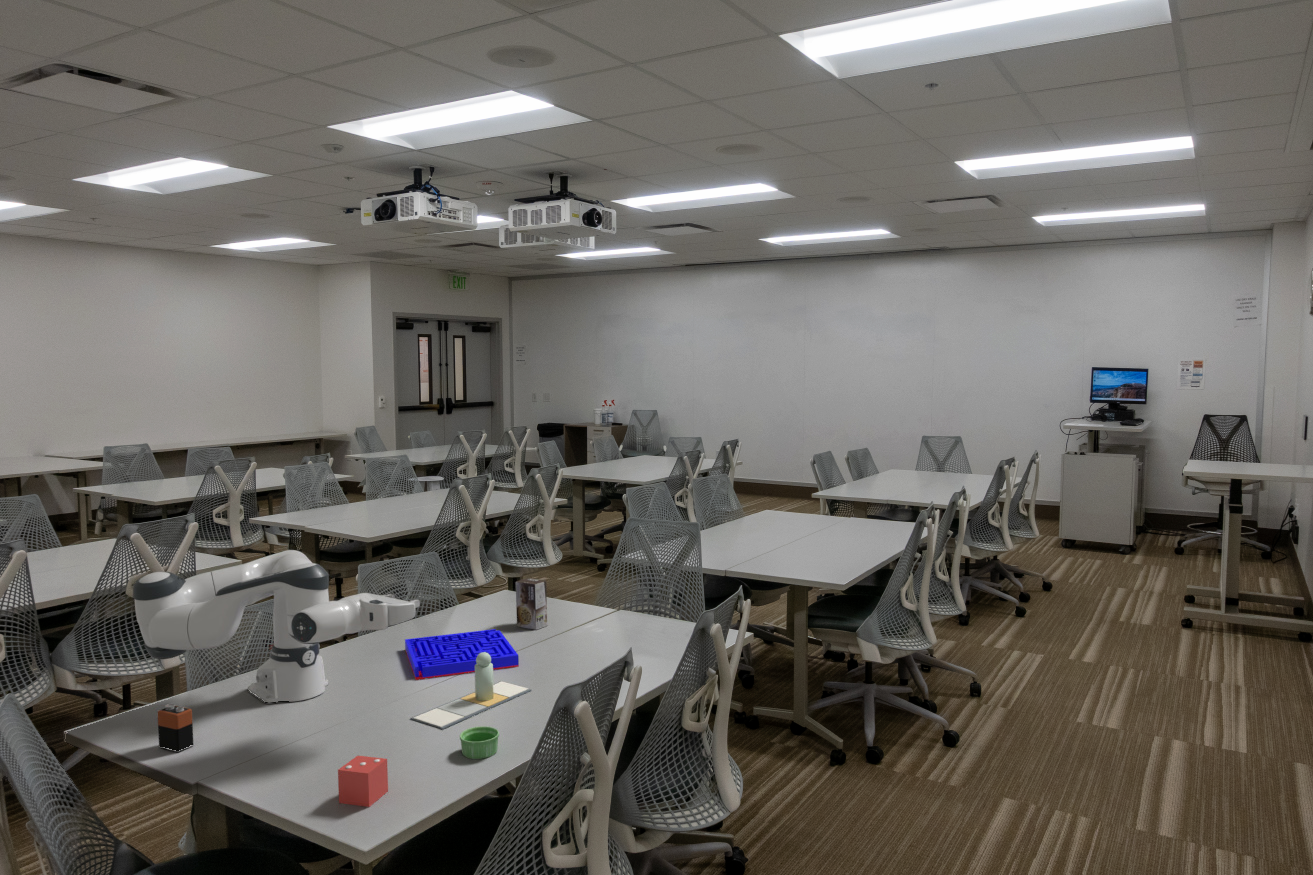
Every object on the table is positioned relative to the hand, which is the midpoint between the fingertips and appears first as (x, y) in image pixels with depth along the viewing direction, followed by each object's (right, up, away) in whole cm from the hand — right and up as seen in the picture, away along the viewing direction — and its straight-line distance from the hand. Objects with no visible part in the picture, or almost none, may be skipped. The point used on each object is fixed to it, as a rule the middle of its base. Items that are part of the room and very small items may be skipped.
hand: (405, 599), depth 224 cm
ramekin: (+23, -32, -21) cm, 44 cm away
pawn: (+18, -29, +12) cm, 36 cm away
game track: (+16, -29, +9) cm, 34 cm away
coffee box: (+21, -24, +81) cm, 87 cm away
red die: (+4, -33, -42) cm, 54 cm away
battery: (-49, -32, -17) cm, 61 cm away
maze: (+3, -27, +47) cm, 55 cm away
